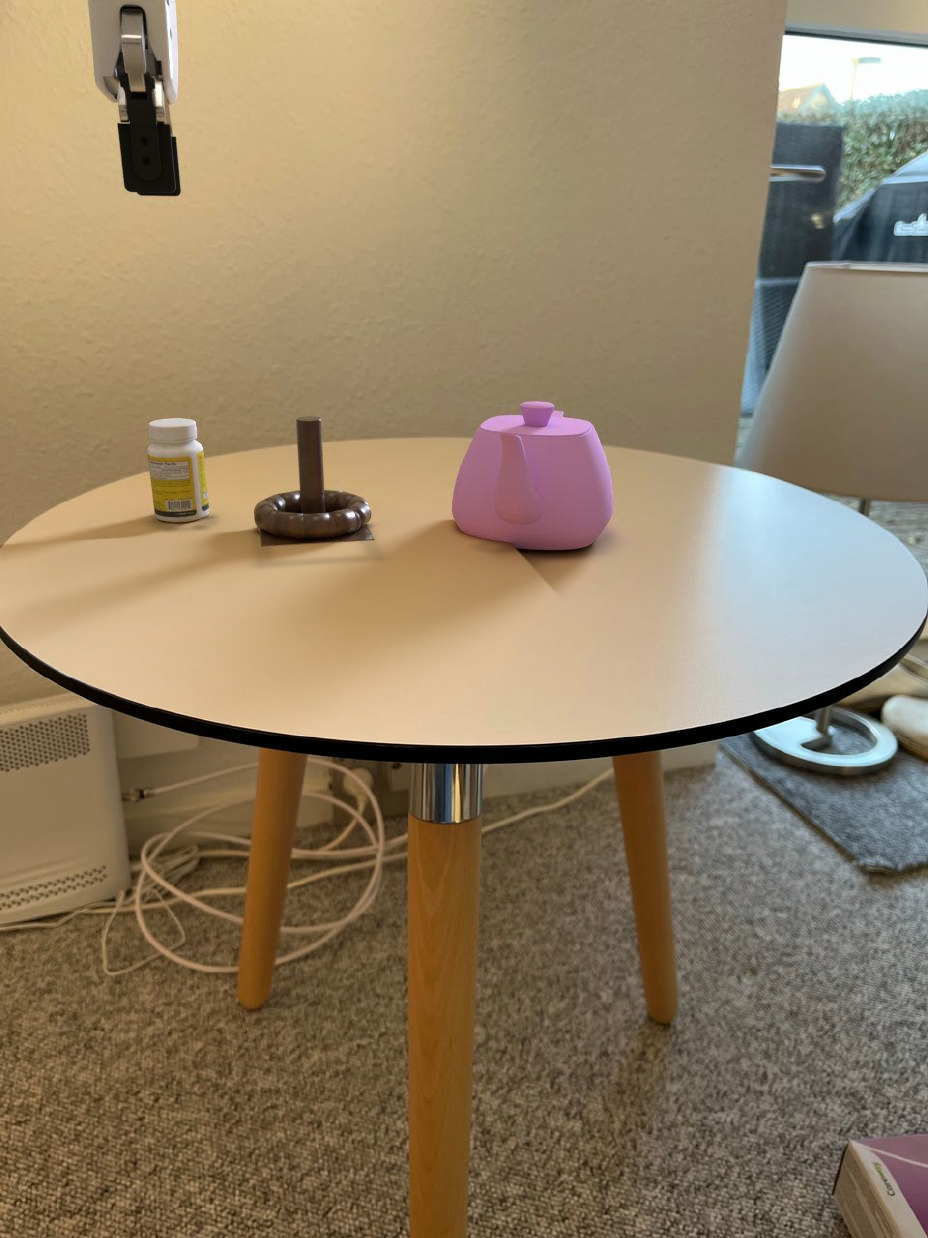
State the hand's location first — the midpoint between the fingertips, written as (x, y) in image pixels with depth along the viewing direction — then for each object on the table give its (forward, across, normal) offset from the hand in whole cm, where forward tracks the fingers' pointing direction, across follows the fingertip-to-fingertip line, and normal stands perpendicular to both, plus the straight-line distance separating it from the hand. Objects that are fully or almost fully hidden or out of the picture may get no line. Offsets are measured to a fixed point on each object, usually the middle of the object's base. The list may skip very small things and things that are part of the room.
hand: (155, 193), depth 69 cm
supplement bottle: (+26, -11, -1) cm, 29 cm away
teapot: (+26, +1, +28) cm, 39 cm away
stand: (+26, -2, +10) cm, 28 cm away
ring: (+24, -3, +10) cm, 26 cm away
